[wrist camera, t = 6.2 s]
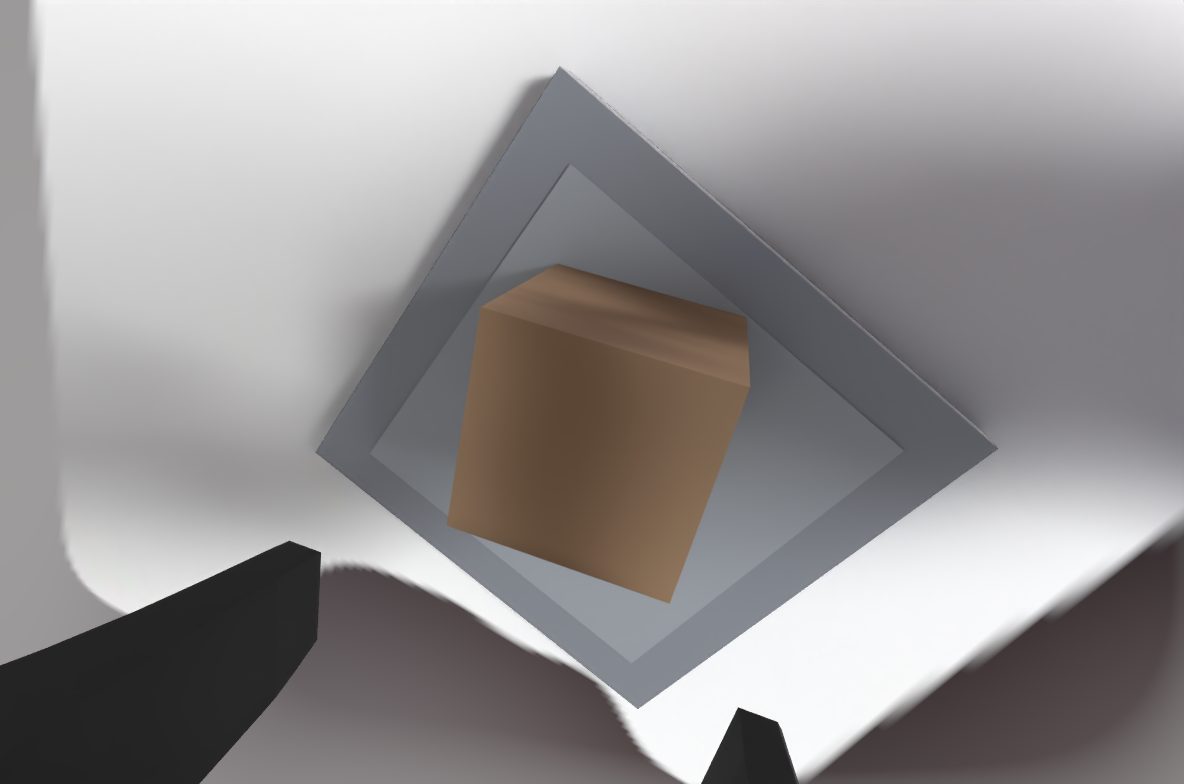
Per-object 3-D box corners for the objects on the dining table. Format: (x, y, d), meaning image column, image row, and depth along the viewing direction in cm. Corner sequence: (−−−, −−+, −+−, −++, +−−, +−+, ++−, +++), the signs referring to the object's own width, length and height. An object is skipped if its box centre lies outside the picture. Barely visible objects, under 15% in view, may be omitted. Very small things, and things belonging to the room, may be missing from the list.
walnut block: (746, 317, 15) (749, 387, 10) (688, 483, 17) (669, 603, 12) (557, 263, 15) (480, 306, 11) (523, 429, 17) (446, 525, 13)
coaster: (983, 431, 15) (999, 450, 14) (642, 685, 21) (637, 711, 20) (570, 72, 15) (558, 65, 14) (334, 439, 20) (313, 453, 19)
